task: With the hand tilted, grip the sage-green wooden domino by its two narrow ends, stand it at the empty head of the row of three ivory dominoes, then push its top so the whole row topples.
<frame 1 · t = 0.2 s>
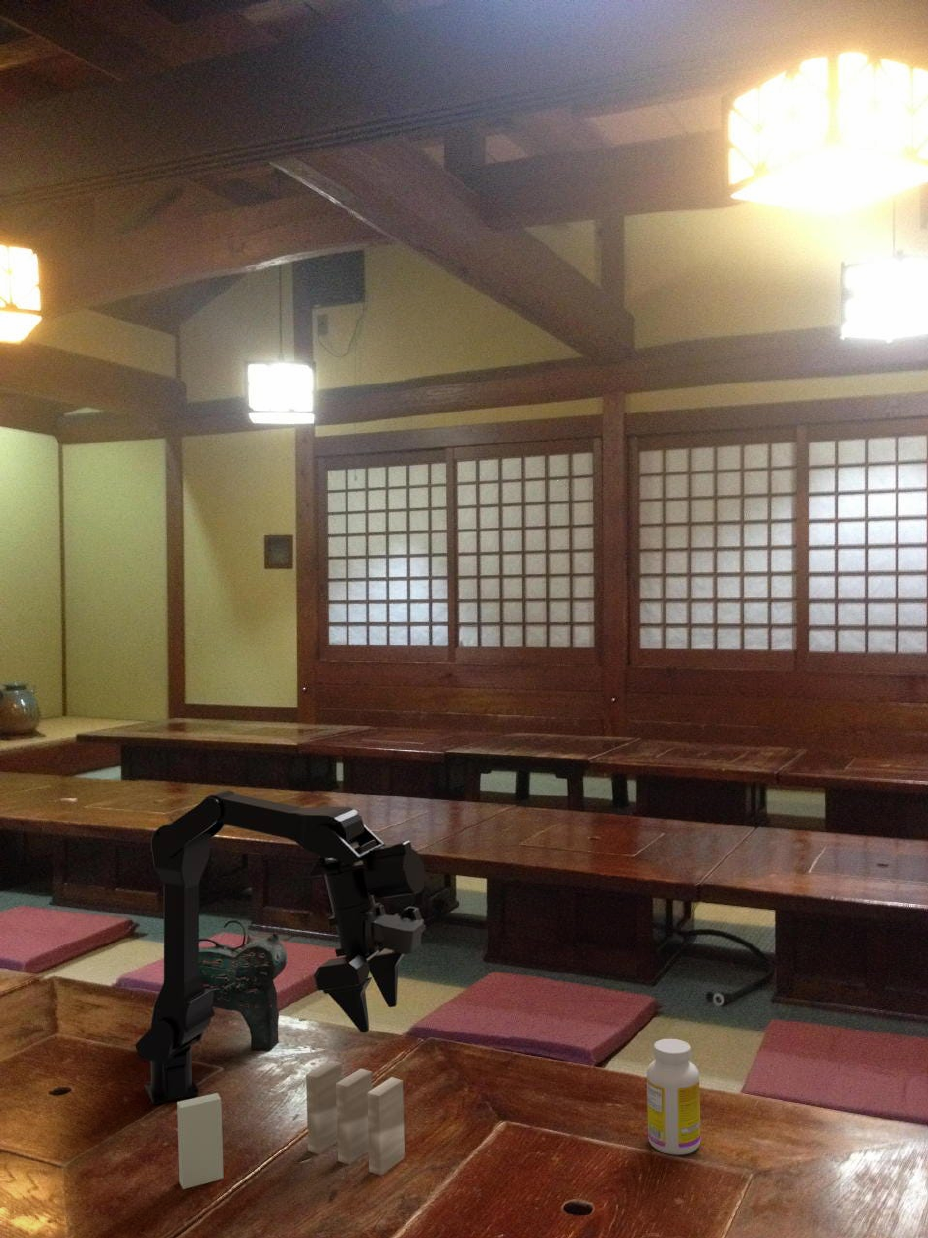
hand: (379, 1019, 148), 15 cm above the table, tool pointing down, fingers open, 9 cm apart
ivory domino 2: (356, 1154, 143), on the table
supplement bottle: (674, 1145, 144), on the table
ivory domino 1: (326, 1144, 146), on the table
sage domino: (201, 1180, 138), on the table
ceramic cat: (225, 1045, 178), on the table
ivory domino 3: (387, 1165, 140), on the table
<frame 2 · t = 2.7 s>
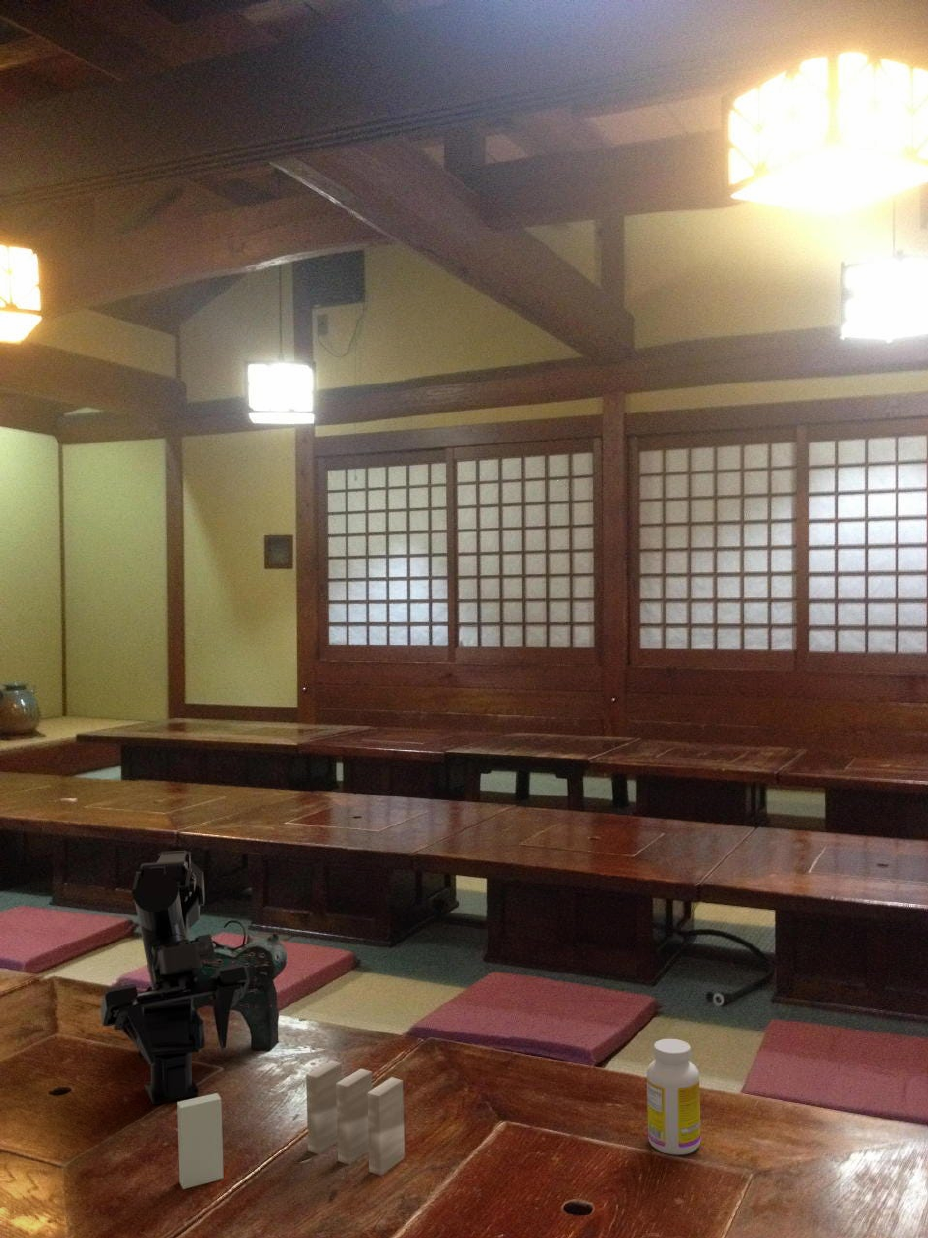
hand: (188, 1056, 143), 13 cm above the table, tool tilted 45°, fingers open, 9 cm apart
nothing on the table moved.
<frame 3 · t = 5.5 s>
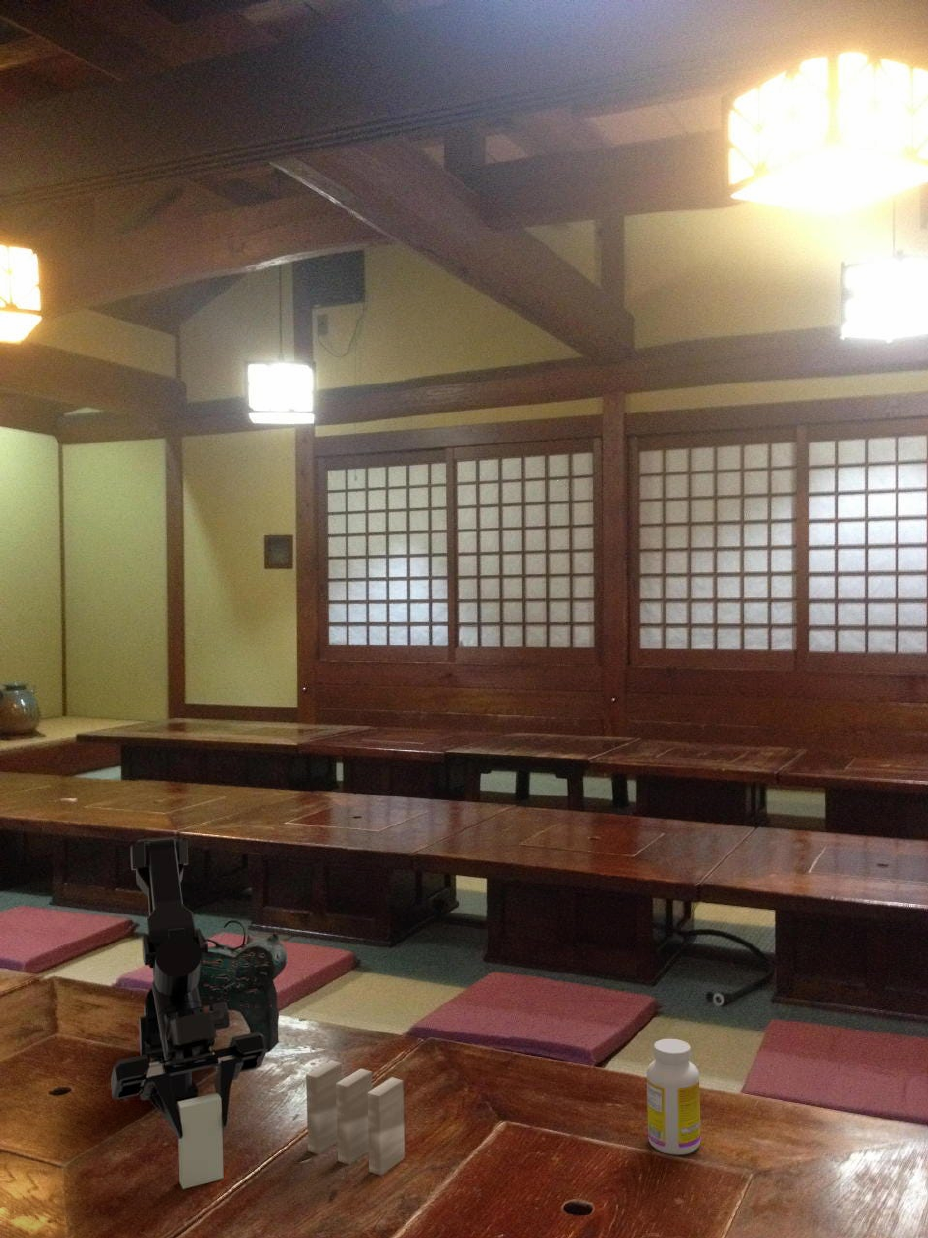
hand: (202, 1132, 136), 7 cm above the table, tool tilted 45°, fingers closed on sage domino, 5 cm apart
sage domino: (201, 1180, 138), on the table, touching gripper
everything else where it was.
when the fingers open (7 cm above the table, at t = 11.0 s): sage domino stays where it is, on the table.
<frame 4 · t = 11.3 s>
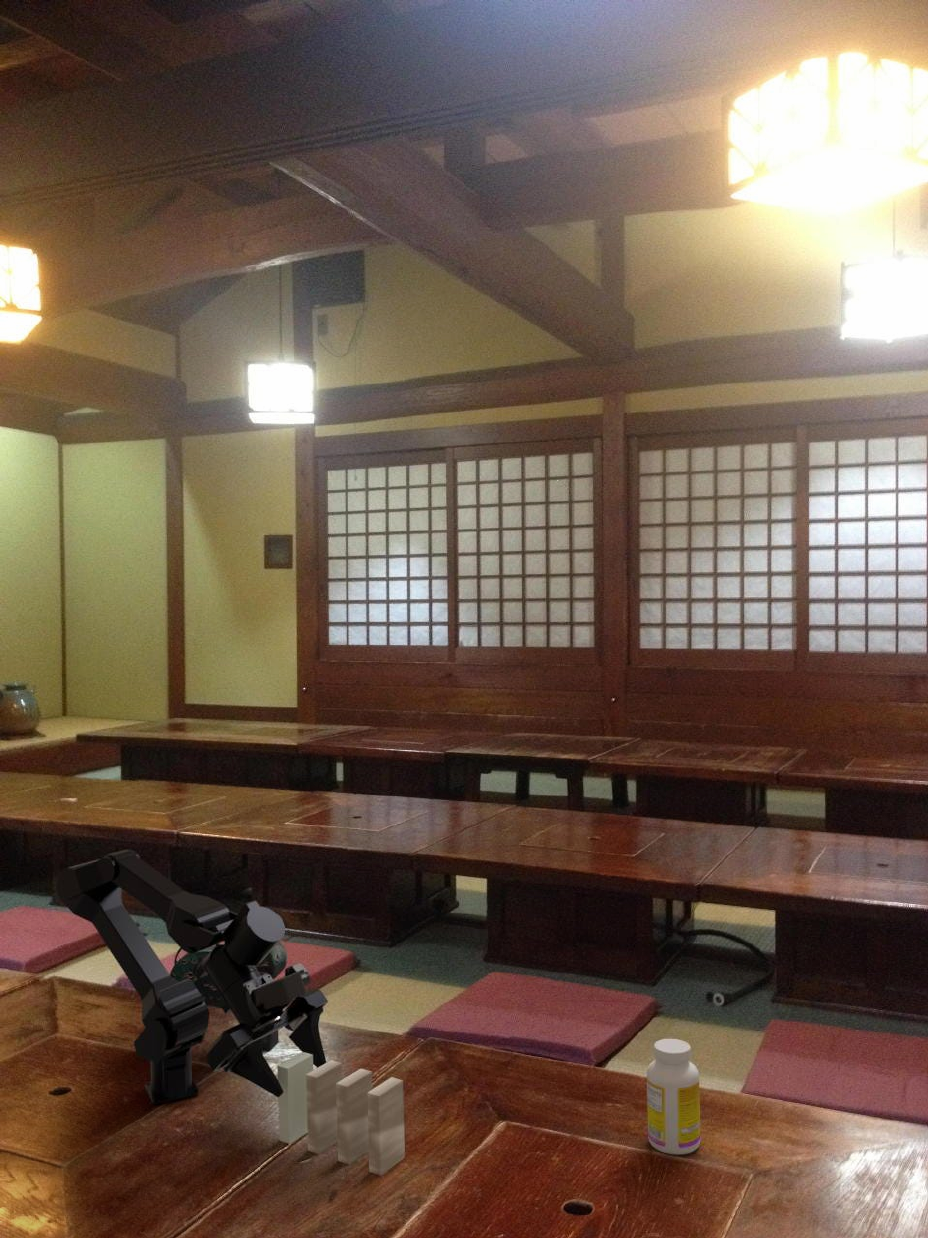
hand: (303, 1082, 148), 7 cm above the table, tool tilted 45°, fingers open, 8 cm apart
sage domino: (297, 1134, 149), on the table
everything else where it was.
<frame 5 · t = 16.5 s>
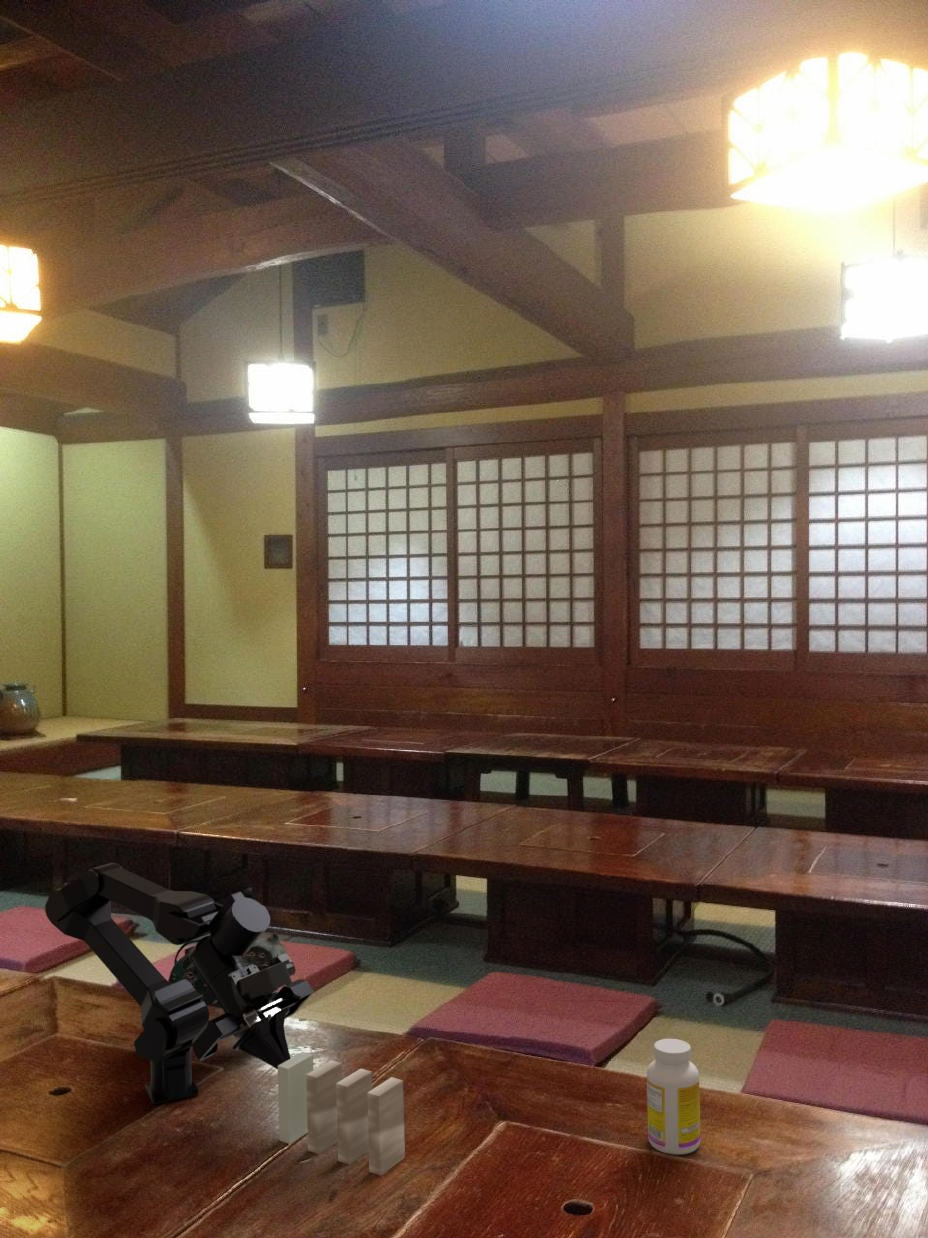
hand: (289, 1071, 149), 8 cm above the table, tool tilted 45°, fingers closed, pressing on sage domino
sage domino: (297, 1134, 149), on the table, touching gripper
everything else where it was.
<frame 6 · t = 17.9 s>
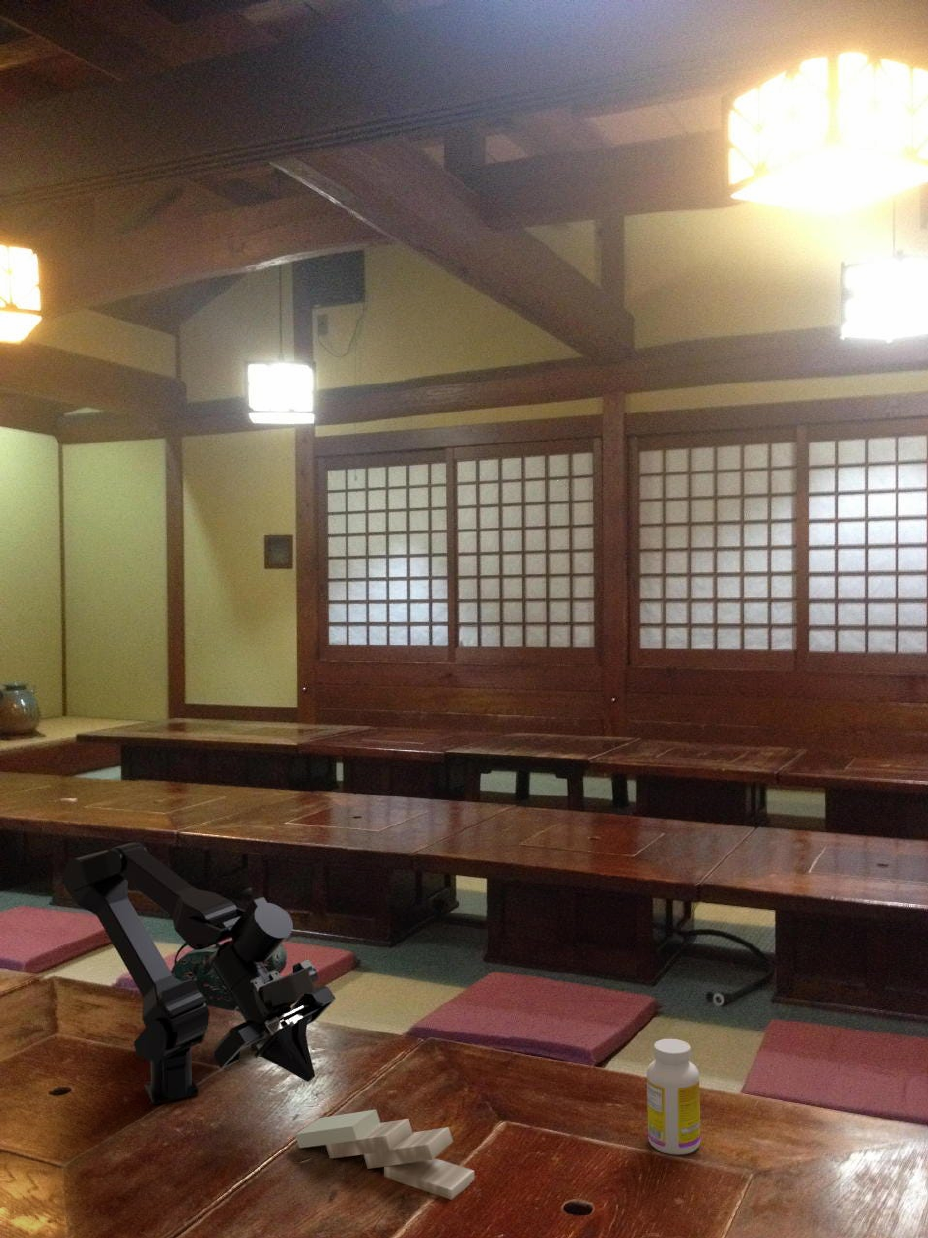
hand: (311, 1079, 147), 8 cm above the table, tool tilted 45°, fingers closed
ivory domino 2: (376, 1152, 141), point 1 cm above the table, tilted 70°, touching ivory domino 1, ivory domino 3
ivory domino 1: (339, 1143, 144), point 1 cm above the table, tilted 70°, touching ivory domino 2, sage domino
sage domino: (309, 1133, 147), point 1 cm above the table, tilted 70°, touching ivory domino 1
ivory domino 3: (396, 1165, 140), on the table, tilted 90°, touching ivory domino 2
everything else where it was.
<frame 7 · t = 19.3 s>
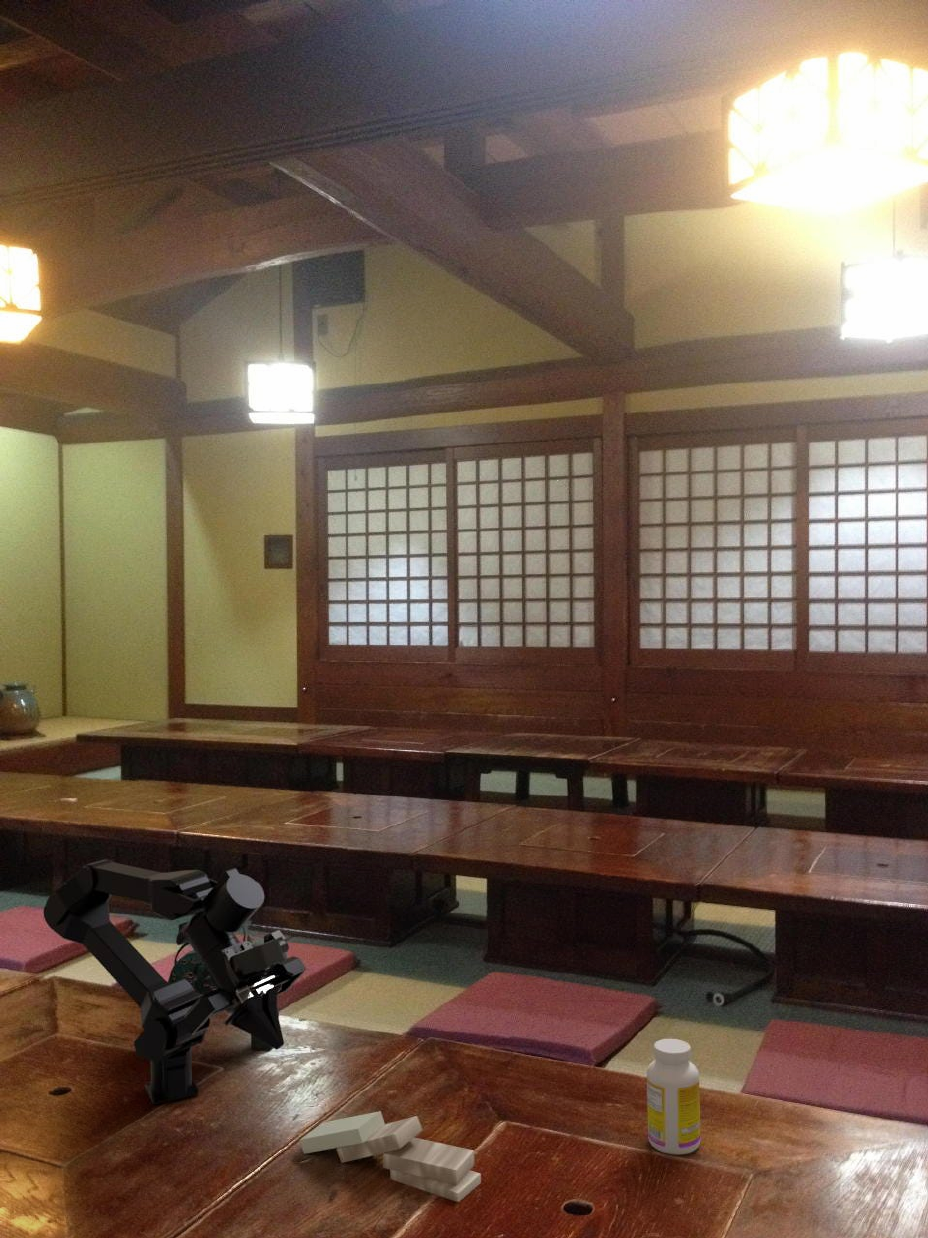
hand: (280, 1047, 150), 11 cm above the table, tool tilted 45°, fingers closed
ivory domino 2: (393, 1151, 140), point 2 cm above the table, tilted 90°, touching ivory domino 1, ivory domino 3
ivory domino 1: (350, 1147, 143), point 1 cm above the table, tilted 65°, touching ivory domino 2, sage domino
sage domino: (313, 1138, 146), point 1 cm above the table, tilted 69°, touching ivory domino 1
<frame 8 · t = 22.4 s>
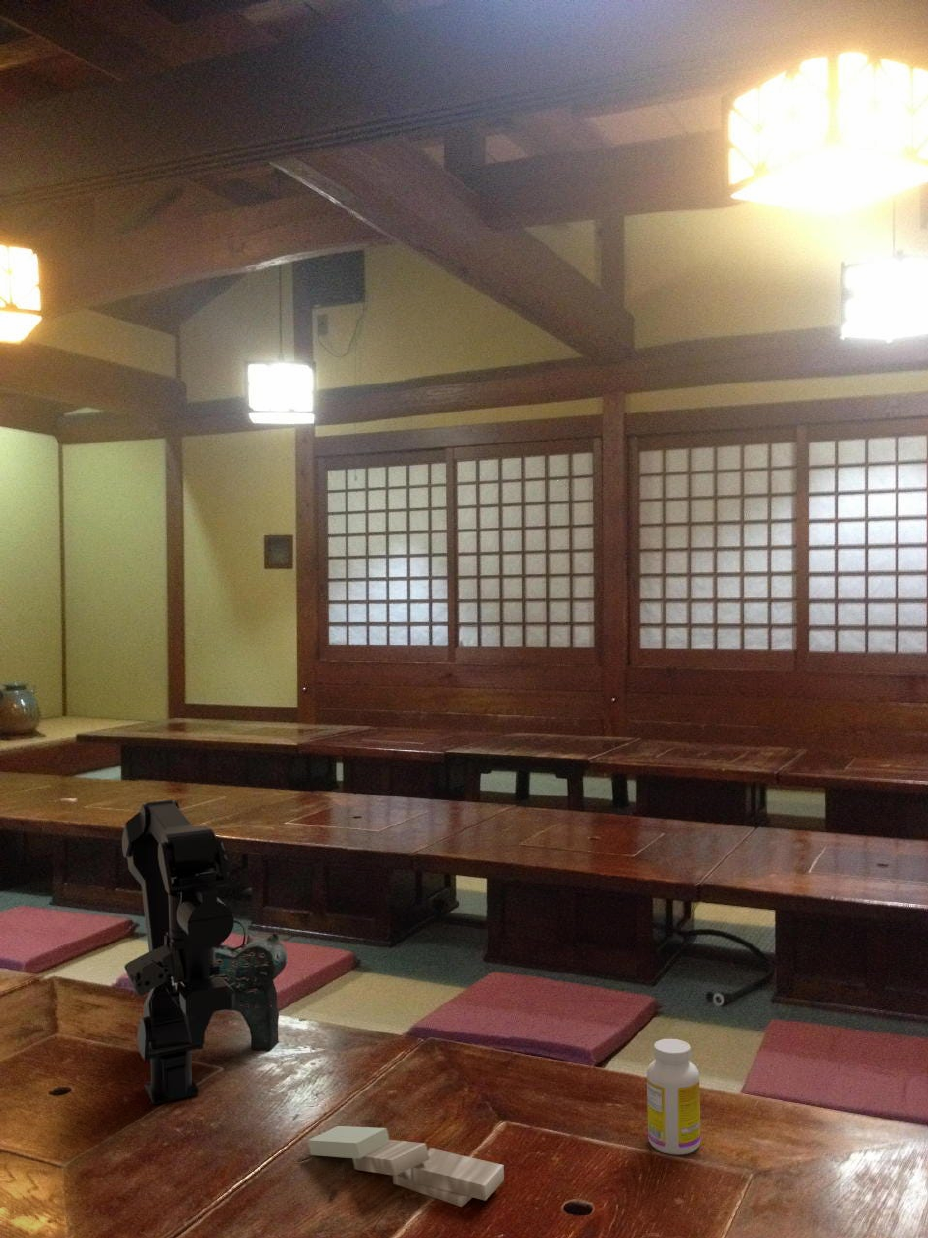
hand: (195, 1043, 147), 13 cm above the table, tool pointing down, fingers closed
ivory domino 2: (421, 1164, 137), point 2 cm above the table, tilted 90°
ivory domino 1: (369, 1154, 141), point 1 cm above the table, tilted 71°, touching sage domino
sage domino: (324, 1140, 145), point 1 cm above the table, tilted 73°, touching ivory domino 1
ivory domino 3: (405, 1172, 138), on the table, tilted 90°
everything else where it was.
at the end: ivory domino 3 tilted 90°; sage domino tilted 73°; sage domino inside the target area (4.5 cm from its centre), point 0.8 cm above the table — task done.
